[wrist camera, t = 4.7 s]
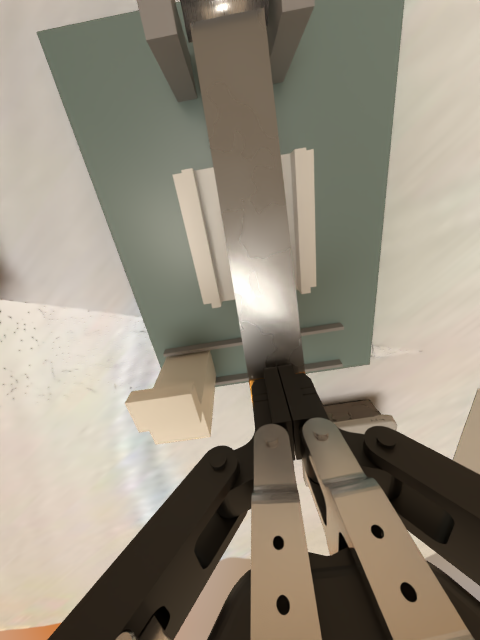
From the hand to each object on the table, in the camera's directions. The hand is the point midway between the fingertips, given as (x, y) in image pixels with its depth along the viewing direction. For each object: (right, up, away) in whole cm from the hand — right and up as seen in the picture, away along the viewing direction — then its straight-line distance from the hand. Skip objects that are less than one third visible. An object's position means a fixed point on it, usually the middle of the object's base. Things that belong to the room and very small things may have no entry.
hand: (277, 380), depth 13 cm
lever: (-1, +9, 0) cm, 9 cm away
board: (-1, +9, +7) cm, 11 cm away
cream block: (-7, -1, +10) cm, 12 cm away
